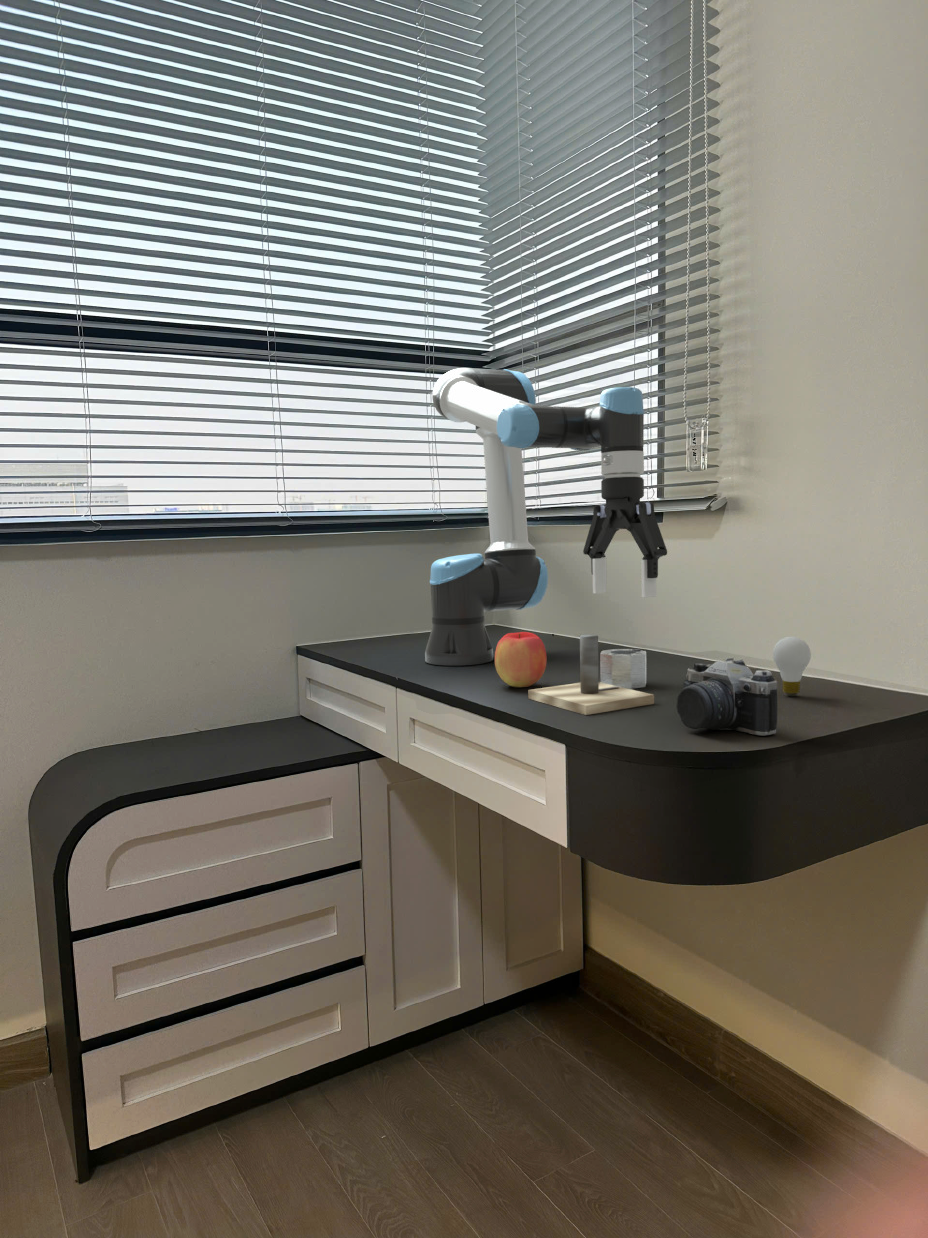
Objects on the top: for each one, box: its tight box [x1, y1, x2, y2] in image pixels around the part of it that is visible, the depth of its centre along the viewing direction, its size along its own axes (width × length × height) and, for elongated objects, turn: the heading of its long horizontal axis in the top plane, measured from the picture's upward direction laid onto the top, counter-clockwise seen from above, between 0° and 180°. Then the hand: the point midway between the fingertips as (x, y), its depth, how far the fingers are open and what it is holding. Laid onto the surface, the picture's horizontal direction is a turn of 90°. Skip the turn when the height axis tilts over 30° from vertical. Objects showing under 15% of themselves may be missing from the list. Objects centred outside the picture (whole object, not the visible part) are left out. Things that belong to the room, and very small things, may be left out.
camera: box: [676, 657, 778, 737], centre depth 123 cm, size 16×10×10 cm, turn 30°
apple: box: [494, 631, 548, 688], centre depth 159 cm, size 10×10×10 cm
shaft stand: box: [527, 634, 655, 716], centre depth 144 cm, size 16×14×11 cm
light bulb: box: [772, 636, 812, 697], centre depth 143 cm, size 6×6×10 cm
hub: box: [599, 648, 647, 690], centre depth 158 cm, size 8×8×6 cm
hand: (623, 595), depth 156 cm, fingers open, 13 cm apart
